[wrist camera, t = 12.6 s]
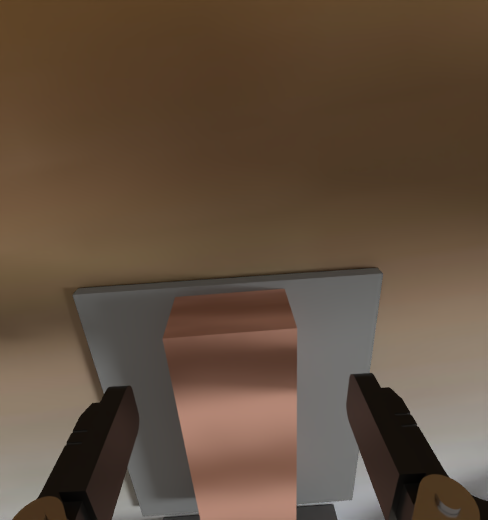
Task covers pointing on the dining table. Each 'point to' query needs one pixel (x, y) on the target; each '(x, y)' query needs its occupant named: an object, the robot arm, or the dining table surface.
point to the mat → (308, 374)
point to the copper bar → (237, 401)
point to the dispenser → (311, 516)
